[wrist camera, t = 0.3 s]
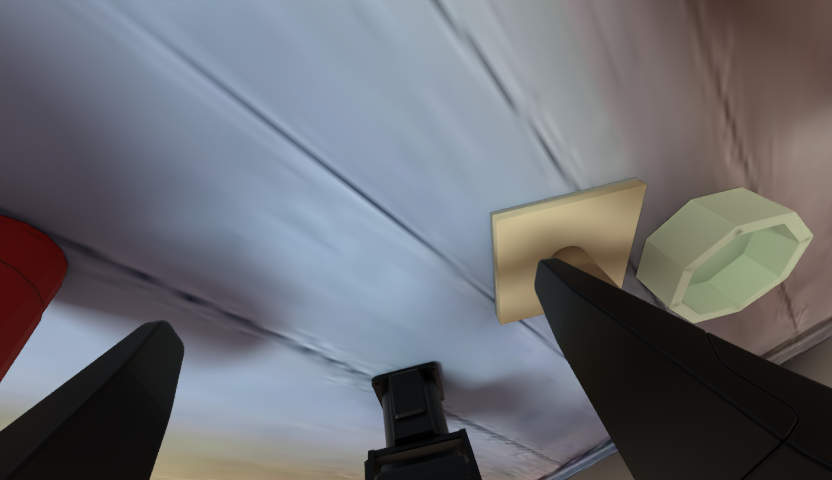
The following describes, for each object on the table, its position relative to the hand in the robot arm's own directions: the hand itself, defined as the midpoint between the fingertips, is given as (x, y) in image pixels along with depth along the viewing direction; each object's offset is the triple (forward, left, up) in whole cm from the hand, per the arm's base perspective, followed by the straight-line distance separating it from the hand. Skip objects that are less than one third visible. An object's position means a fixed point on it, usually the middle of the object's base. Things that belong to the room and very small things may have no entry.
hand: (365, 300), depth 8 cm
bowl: (-16, -26, -14) cm, 34 cm away
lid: (-13, -13, -14) cm, 23 cm away
